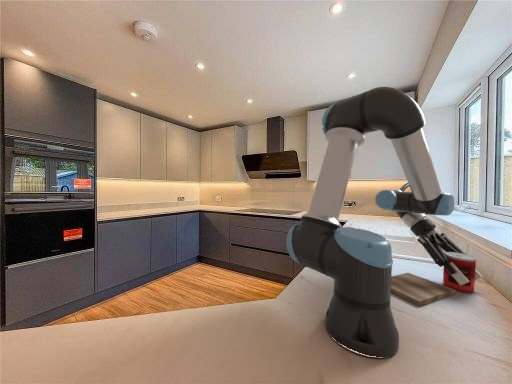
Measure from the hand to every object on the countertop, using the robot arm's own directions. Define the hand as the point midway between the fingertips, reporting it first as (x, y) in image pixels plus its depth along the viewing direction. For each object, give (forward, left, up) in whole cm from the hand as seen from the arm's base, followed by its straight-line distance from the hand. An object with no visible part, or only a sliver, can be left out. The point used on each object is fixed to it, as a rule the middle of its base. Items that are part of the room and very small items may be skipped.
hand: (471, 281), depth 68 cm
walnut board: (-16, +8, -4) cm, 18 cm away
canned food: (0, +3, -4) cm, 5 cm away
